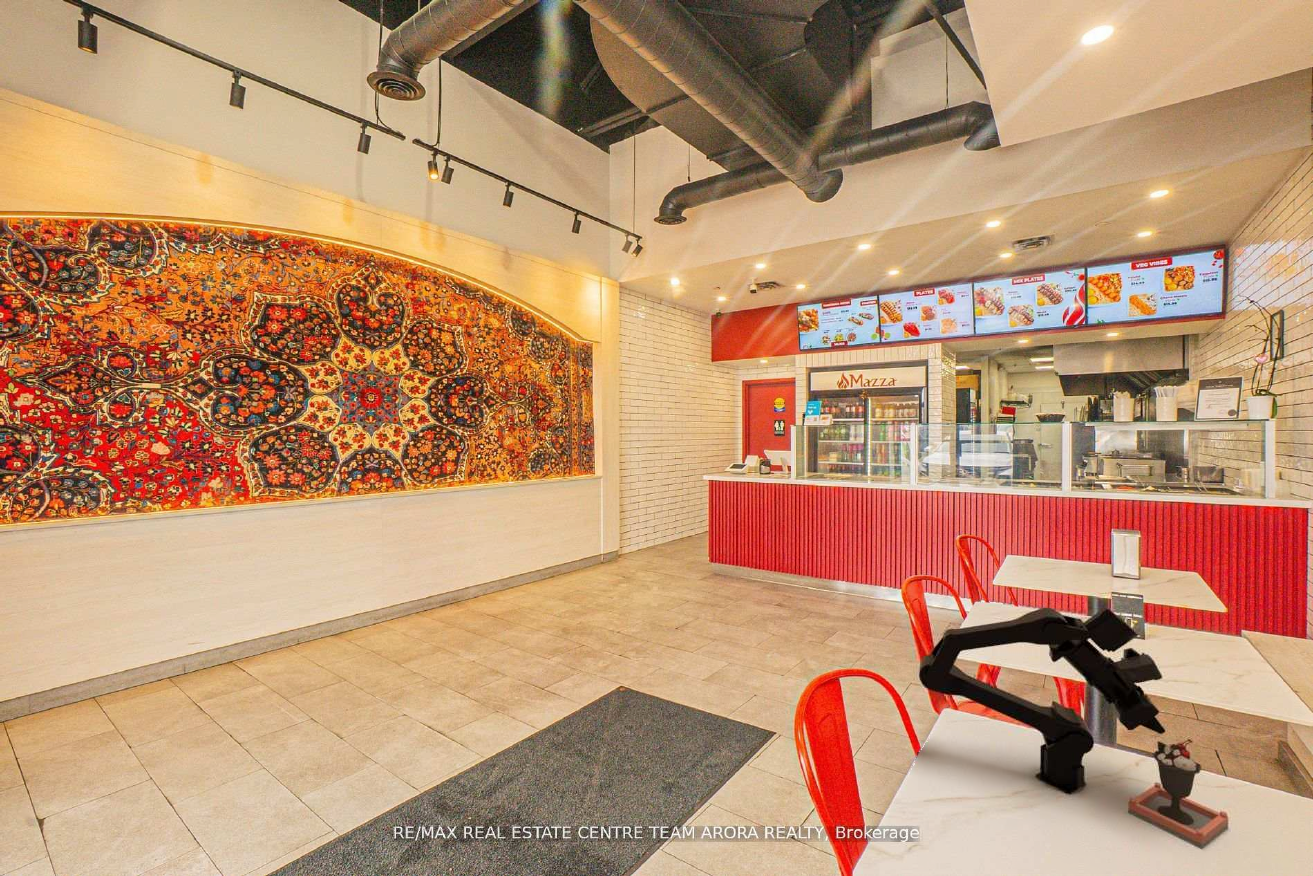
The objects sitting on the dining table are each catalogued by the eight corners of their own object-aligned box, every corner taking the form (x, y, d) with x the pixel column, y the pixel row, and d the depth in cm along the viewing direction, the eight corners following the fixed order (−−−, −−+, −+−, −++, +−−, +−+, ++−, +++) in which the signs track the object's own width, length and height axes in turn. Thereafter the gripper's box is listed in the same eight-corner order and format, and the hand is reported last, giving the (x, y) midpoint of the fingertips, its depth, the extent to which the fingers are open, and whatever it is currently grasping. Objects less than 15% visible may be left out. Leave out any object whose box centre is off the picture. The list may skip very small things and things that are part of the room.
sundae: (1205, 833, 102) (1207, 748, 102) (1156, 820, 106) (1157, 738, 105) (1194, 811, 108) (1196, 731, 108) (1148, 799, 112) (1149, 722, 111)
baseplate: (1128, 812, 109) (1128, 798, 109) (1155, 794, 114) (1155, 781, 114) (1202, 848, 100) (1202, 833, 100) (1228, 827, 105) (1228, 813, 105)
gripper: (1144, 658, 105) (1225, 732, 100) (1114, 625, 122) (1182, 687, 117) (1090, 694, 108) (1166, 767, 104) (1069, 656, 125) (1133, 718, 121)
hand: (1163, 732), depth 111 cm, fingers closed
